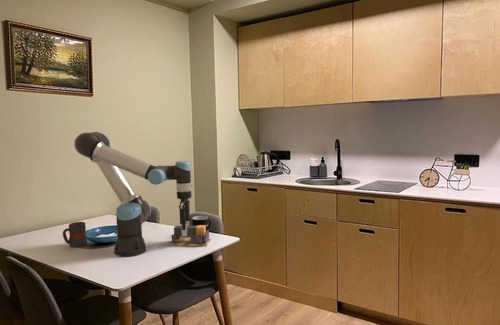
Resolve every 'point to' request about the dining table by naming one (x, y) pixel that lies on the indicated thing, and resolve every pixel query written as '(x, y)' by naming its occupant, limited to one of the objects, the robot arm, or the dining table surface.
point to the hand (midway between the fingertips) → (185, 234)
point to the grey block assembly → (191, 240)
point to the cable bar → (190, 230)
